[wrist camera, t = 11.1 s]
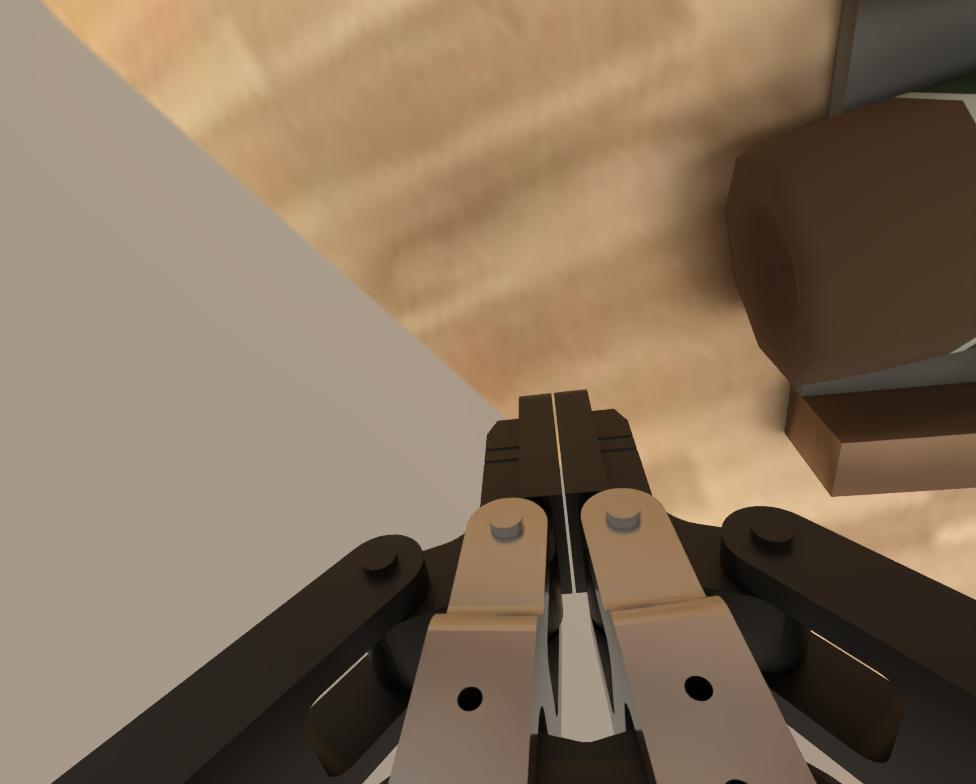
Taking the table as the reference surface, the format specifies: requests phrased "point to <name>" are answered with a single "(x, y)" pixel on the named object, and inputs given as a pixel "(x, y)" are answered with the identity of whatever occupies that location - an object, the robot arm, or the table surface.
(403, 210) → the table surface
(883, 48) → the cradle
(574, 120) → the table surface
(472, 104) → the table surface
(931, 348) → the beer bottle
